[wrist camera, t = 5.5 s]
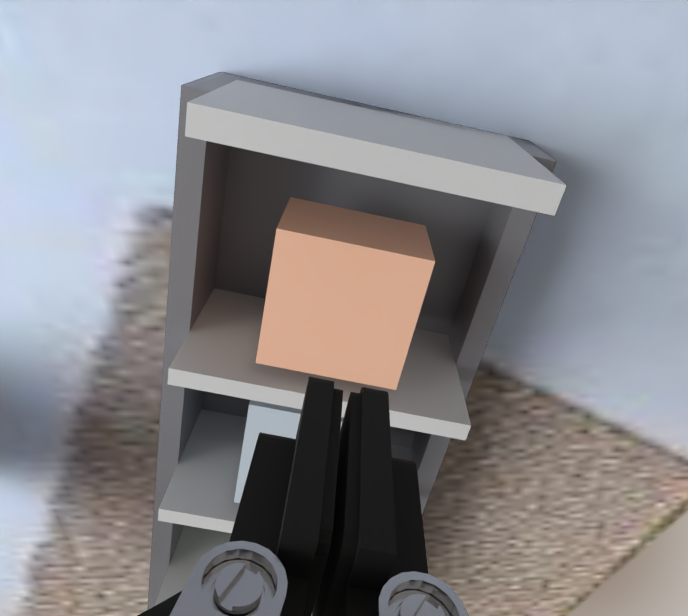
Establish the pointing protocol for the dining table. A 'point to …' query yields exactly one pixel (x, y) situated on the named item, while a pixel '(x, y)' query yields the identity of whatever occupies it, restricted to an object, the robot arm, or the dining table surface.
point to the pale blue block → (268, 422)
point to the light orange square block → (344, 293)
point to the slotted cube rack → (254, 268)
